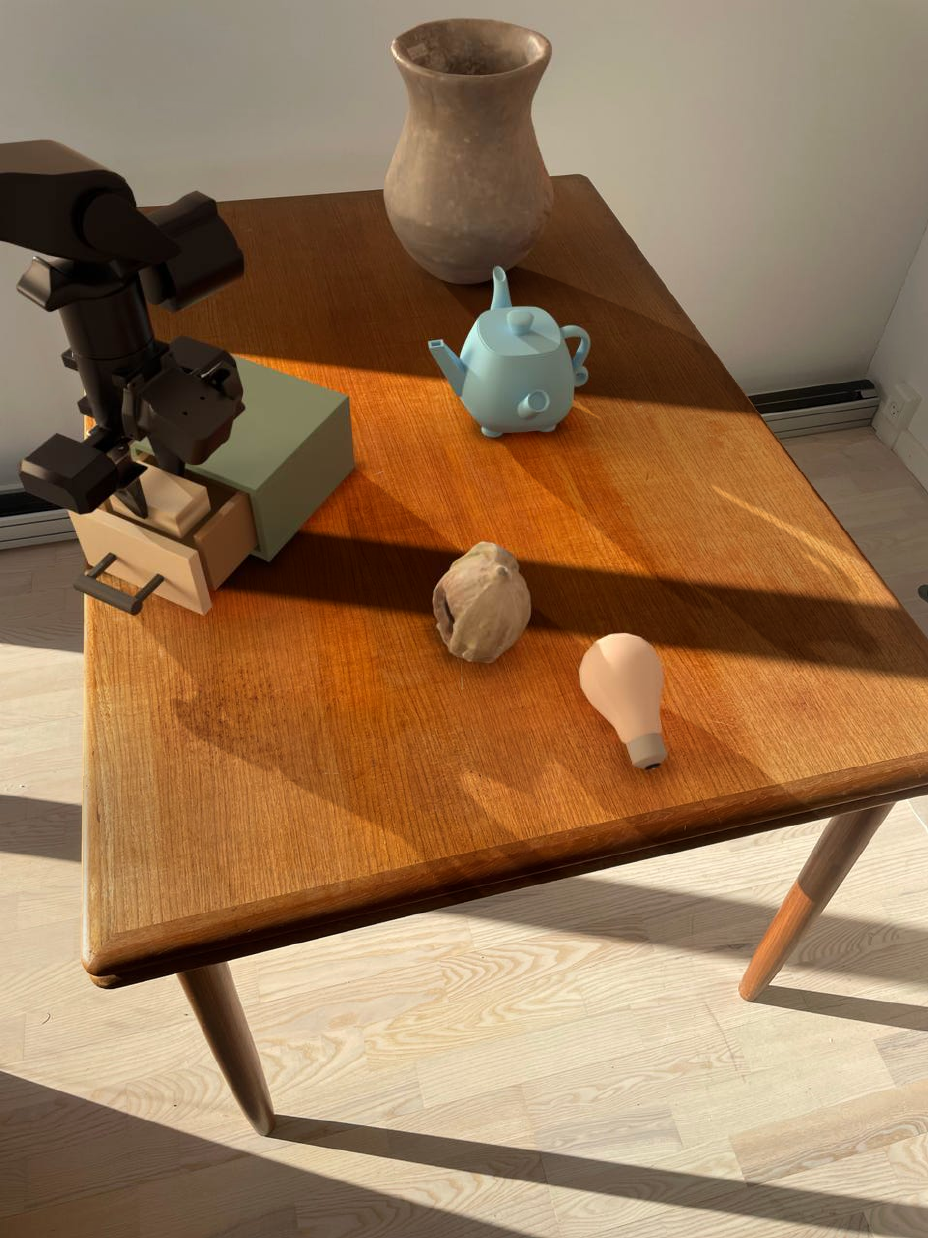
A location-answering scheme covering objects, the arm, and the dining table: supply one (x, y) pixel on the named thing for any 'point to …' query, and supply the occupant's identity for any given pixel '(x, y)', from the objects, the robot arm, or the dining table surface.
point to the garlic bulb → (482, 604)
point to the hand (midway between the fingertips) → (159, 500)
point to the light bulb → (627, 693)
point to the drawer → (166, 549)
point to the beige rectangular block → (169, 502)
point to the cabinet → (281, 451)
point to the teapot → (515, 366)
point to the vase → (469, 148)
